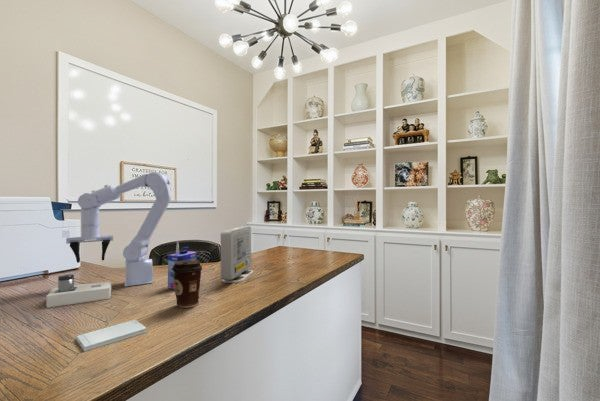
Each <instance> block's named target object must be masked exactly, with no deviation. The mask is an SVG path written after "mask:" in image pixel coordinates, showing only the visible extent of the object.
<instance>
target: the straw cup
mask: <svg viewBox="0 0 600 401" xmlns="http://www.w3.org/2000/svg"><path fill="white" fill-rule="evenodd" d="M189 249H190V246H185V247H182V248H181V250H179V253H176V252H175V253H172V254H168V255H167V288H168V289H171V290H172V289H173V290H175V286H174V271H173V270H172V268H173V267H174V264H175V263H176V262H178V261H186V260H190V261H197V260H198V258H197V257H198V253H197V252H196V251H189Z"/></svg>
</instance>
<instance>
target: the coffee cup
mask: <svg viewBox="0 0 600 401" xmlns="http://www.w3.org/2000/svg"><path fill="white" fill-rule="evenodd" d="M172 270H173V271H174V286H175V289H174V294H175V298H176V299H175V300H176V306H177V307H179V308H184V309H187V308H194V307H196V306H198V305H199V303H200V301H199V299H200V292H201V291H200V288H201V277H202V275H201V274H202V270H203V266H202V265H201V262H200V261H190V260H186V261H178V262H176V263H175V264H174V267H173V268H172Z"/></svg>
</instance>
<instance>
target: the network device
mask: <svg viewBox="0 0 600 401" xmlns="http://www.w3.org/2000/svg"><path fill="white" fill-rule="evenodd" d="M251 230H252V228H251V226H248V225H247V226H242V225H241V226H238V227H235V228H230V229H226V230H222V231H221V233H220V277H221V283H225V284H237V283H242V282H244V281H245V280H246V279H248V278H249V277H250V276H252V275H253V274H254V270H252V269H250V270H249V268H250V267H251V265H252V234H251V233H252V231H251ZM242 273H246V274H242ZM235 278H236V279H237V278H240V279H239V280H234V279H235Z"/></svg>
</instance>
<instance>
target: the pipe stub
mask: <svg viewBox="0 0 600 401" xmlns="http://www.w3.org/2000/svg"><path fill="white" fill-rule="evenodd" d="M57 279H58V280H57V283H58V284H57V286H58V287H57V288H58V293H60V292H68V291H74V286H75V274H72V273H70V274H63V275H59V276H57Z"/></svg>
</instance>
